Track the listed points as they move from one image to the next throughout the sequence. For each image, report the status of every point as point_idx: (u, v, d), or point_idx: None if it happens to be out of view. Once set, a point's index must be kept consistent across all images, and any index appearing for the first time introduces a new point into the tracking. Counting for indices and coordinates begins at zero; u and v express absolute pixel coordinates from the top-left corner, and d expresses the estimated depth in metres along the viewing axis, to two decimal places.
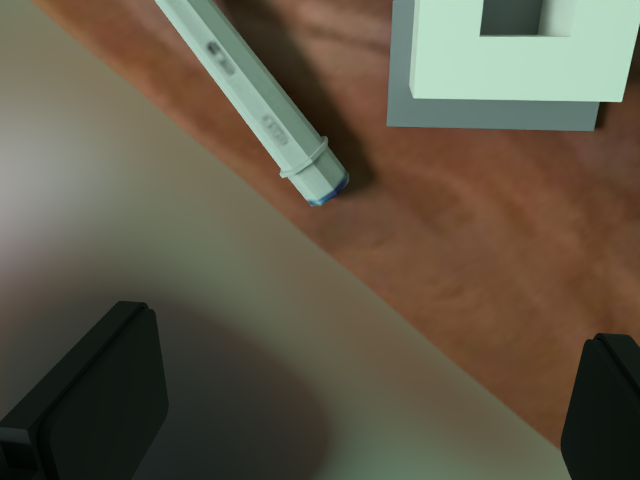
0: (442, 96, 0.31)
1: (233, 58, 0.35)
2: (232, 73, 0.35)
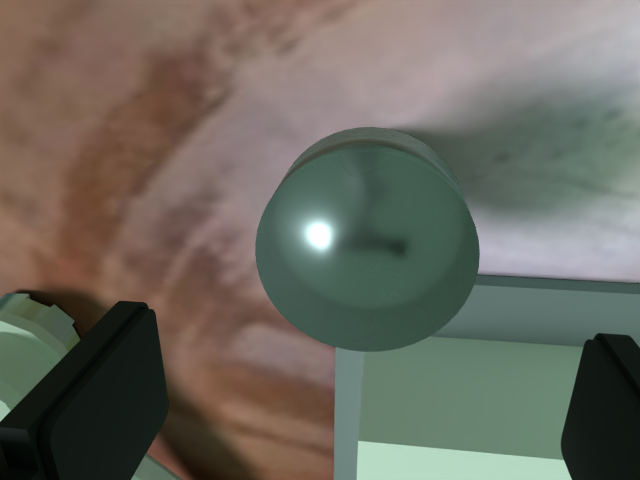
0: None
1: None
2: None
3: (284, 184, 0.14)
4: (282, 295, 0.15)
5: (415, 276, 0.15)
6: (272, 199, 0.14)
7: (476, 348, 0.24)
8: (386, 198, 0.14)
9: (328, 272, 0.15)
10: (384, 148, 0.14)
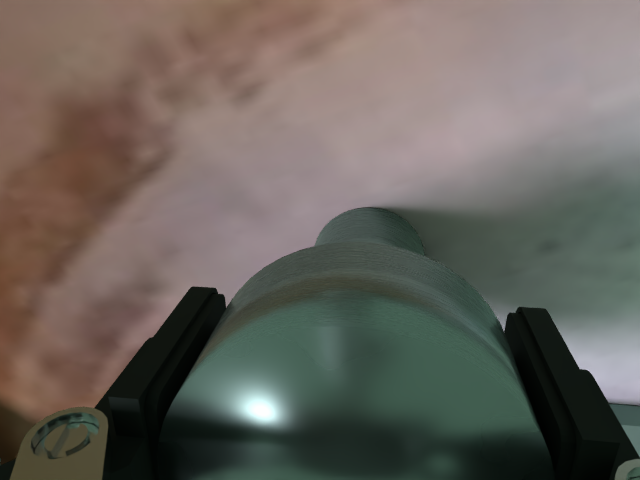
0: None
1: None
2: None
3: (200, 372, 0.08)
4: None
5: None
6: (181, 394, 0.08)
7: None
8: (386, 404, 0.07)
9: None
10: (382, 312, 0.07)
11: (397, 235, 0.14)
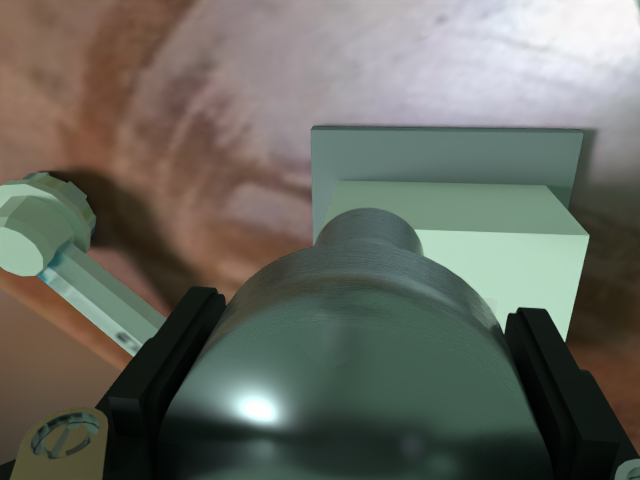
0: None
1: None
2: None
3: (199, 372, 0.08)
4: None
5: None
6: (179, 394, 0.08)
7: (426, 186, 0.29)
8: (385, 404, 0.07)
9: None
10: (381, 312, 0.07)
11: (397, 235, 0.14)
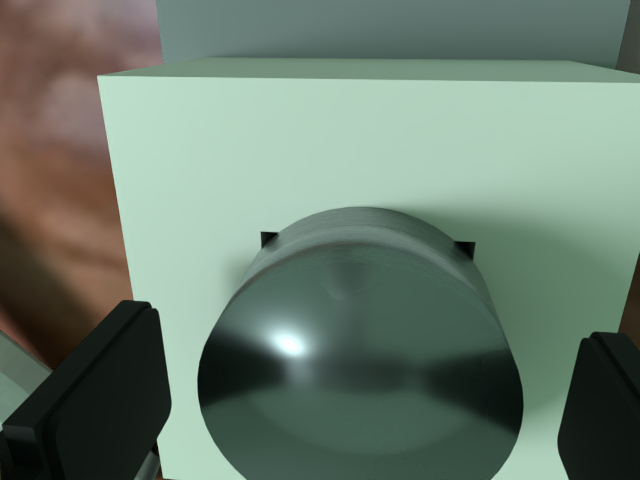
0: None
1: None
2: None
3: (235, 304, 0.09)
4: (238, 448, 0.11)
5: (429, 433, 0.10)
6: (218, 324, 0.10)
7: (354, 60, 0.16)
8: (386, 328, 0.09)
9: (303, 421, 0.10)
10: (383, 254, 0.09)
11: None
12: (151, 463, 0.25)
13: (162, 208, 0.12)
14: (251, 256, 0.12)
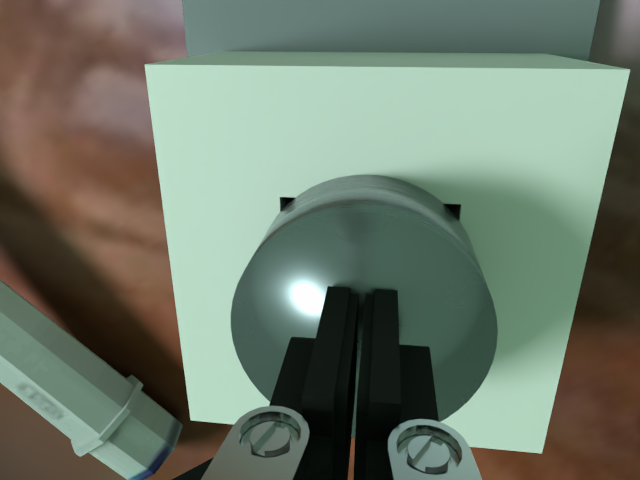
0: None
1: None
2: None
3: (264, 248, 0.12)
4: (263, 373, 0.13)
5: None
6: (250, 265, 0.12)
7: (357, 53, 0.18)
8: (386, 266, 0.11)
9: None
10: (383, 206, 0.11)
11: None
12: (173, 427, 0.27)
13: (196, 177, 0.14)
14: (271, 218, 0.15)
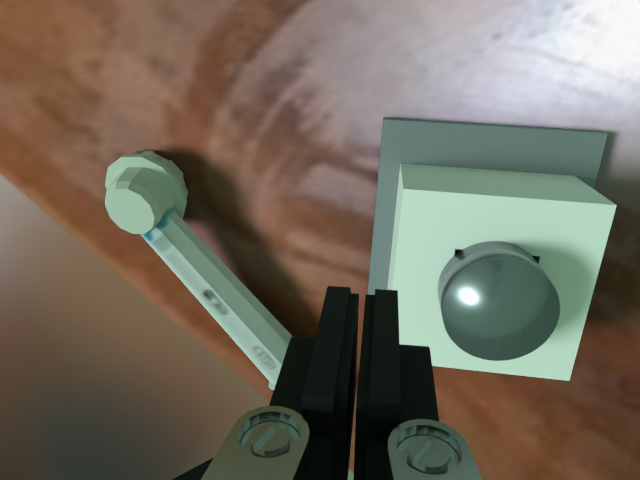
0: None
1: (226, 303, 0.38)
2: (225, 314, 0.39)
3: (465, 273, 0.28)
4: (453, 328, 0.29)
5: (526, 322, 0.29)
6: (457, 280, 0.28)
7: (476, 171, 0.35)
8: (516, 283, 0.28)
9: (480, 317, 0.29)
10: (515, 258, 0.28)
11: None
12: None
13: (416, 238, 0.31)
14: (449, 258, 0.31)
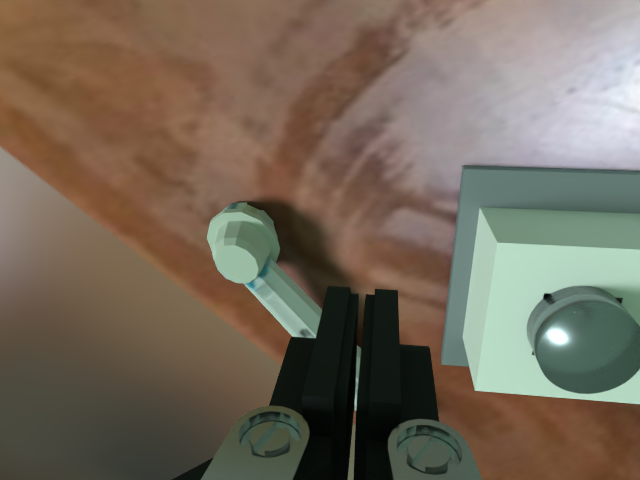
0: (499, 390, 0.37)
1: None
2: None
3: (560, 320, 0.31)
4: (547, 367, 0.33)
5: (615, 360, 0.32)
6: (553, 326, 0.31)
7: (553, 213, 0.38)
8: (607, 327, 0.31)
9: (573, 357, 0.32)
10: (606, 305, 0.31)
11: None
12: None
13: (508, 284, 0.34)
14: (538, 301, 0.34)
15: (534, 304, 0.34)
